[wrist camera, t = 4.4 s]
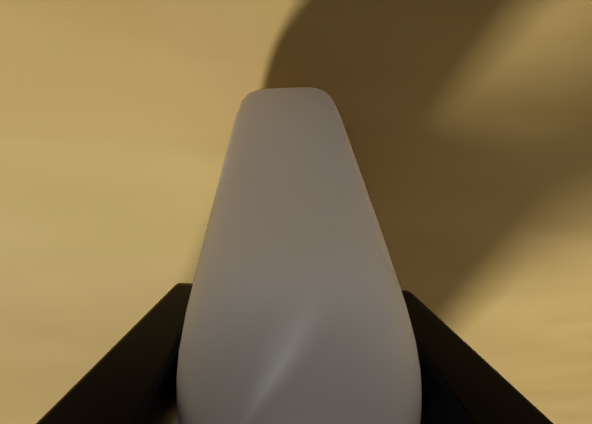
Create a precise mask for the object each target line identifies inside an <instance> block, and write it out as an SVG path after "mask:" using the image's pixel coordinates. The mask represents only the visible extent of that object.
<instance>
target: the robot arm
mask: <svg viewBox="0 0 592 424" xmlns="http://www.w3.org/2000/svg"><path fill="white" fill-rule="evenodd" d="M192 286H193V283H178V284H176V285H175V286H174V287H173V288H172V289H171V290H170V291H169V292H168V293H167V294H166V295H165V296H164V297H163V298H162V299H161V300H160V301H159V302H158V303H157V304H156V305H155V306H154V307H153V308H152V309H151V310H150V311H149V312H148V313H147V314H146V315H145V316H144V317H143V318H142V319H141V320H140V321H139V322H138V323H137V324H136V325H135V326H134V327H133V328H132V329H131V330H130V331H129V332H128V333H127V334H126V335H125V336H124V337H123V338H122V339H121V340H120V341H119V342H118V343H117V344H116V345H115V346H114V347H113V348H112V349H111V350H110V351H109V352H108V353H107V354H106V355H105V356H104V357H103V358H102V359H101V360H100V361H99V362H98V363H97V364H96V365H95V366H94V367H93V368H92V369H91V370H90V371H89V372H88V373H87V374H86V375H85V376H84V377H83V378H82V379H81V380H80V381H79V382H78V383H77V384H76V385H75V386H74V387H73V388H72V389H71V390H70V391H69V392H68V393H67V394H66V395H65V396H64V397H63V398H62V399H61V400H60V401H59V402H58V403H57V404H56V405H55V406H54V407H52V408H51V409H50V410H49V411H48V412H47V413H46V414H45V415H44V416H43V417H42V418H41V419H40V420H39V421H38V422H37V423H36V424H179V423H178V415H177V403H176V377H177V366H178V355H179V348H180V342H181V337H182V331H183V326H184V320H185V315H186V310H187V306H188V302H189V298H190V294H191V290H192ZM401 291H402V294H403V297H404V300H405V303H406V306H407V310H408V314H409V318H410V321H411V325H412V329H413V333H414V337H415V340H416V346H417V352H418V358H419V364H420V372H421V386H422V410H421V423H420V424H553V423H552V422H551V421H550V420H549V419H548V418H547V417H546V416H545V415H544V414H543V413H541V412H540V411H539V410H538V409H537V408H536V407H535V406H534V405H533V404H532V403H531V402H529V401H528V400H527V399H526V398H525V397H524V396H523V395H522V394H521V393H520V392H519V391H518V390H516V389H515V388H514V387H513V386H512V385H511V384H510V383H509V382H508V381H507V380H506V379H504V378H503V377H502V376H501V375H500V374H499V373H498V372H497V371H496V370H495V369H494V368H492V367H491V366H490V365H489V364H488V363H487V362H486V361H485V360H484V359H483V358H482V357H481V356H479V355H478V354H477V353H476V352H475V351H474V350H473V349H472V348H471V347H470V346H469V345H467V344H466V343H465V342H464V341H463V340H462V339H461V338H460V337H459V336H458V335H457V334H456V333H454V332H453V331H452V330H451V329H450V328H449V327H448V326H447V325H446V324H445V323H444V322H442V321H441V320H440V319H439V318H438V317H437V316H436V315H435V314H434V313H433V312H432V311H431V310H429V309H428V308H427V307H426V306H425V305H424V304H423V303H422V302H421V301H420V300H419V299H417V298H416V297H415V296H414V295H413V294H412V293H411V292H409V291H406V290H401Z"/></svg>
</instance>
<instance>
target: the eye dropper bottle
mask: <svg viewBox="0 0 592 424" xmlns="http://www.w3.org/2000/svg"><path fill="white" fill-rule="evenodd" d="M176 403H177V415H178V423H179V424H420V423H421V410H422V386H421V372H420V364H419V358H418V352H417V346H416V340H415V337H414V333H413V329H412V325H411V321H410V318H409V314H408V310H407V306H406V303H405V300H404V297H403V294H402V291H401V288H400V285H399V282H398V279H397V276H396V273H395V270H394V267H393V264H392V261H391V258H390V255H389V252H388V249H387V246H386V243H385V240H384V237H383V234H382V232H381V229H380V226H379V223H378V220H377V217H376V215H375V212H374V209H373V206H372V203H371V200H370V197H369V195H368V192H367V189H366V186H365V183H364V180H363V178H362V175H361V172H360V169H359V166H358V164H357V161H356V158H355V155H354V152H353V150H352V147H351V144H350V141H349V138H348V136H347V133H346V130H345V127H344V125H343V122H342V119H341V117H340V114H339V112H338V109H337V107H336V105H335V103H334V101H333V99H332V98H331V97H330V96H329V95H328V94H327V93H326V92H325V91H324V90H321V89H317V88H314V87H294V88H269V89H259V90H256V91H254V92H251V93H249V94H248V95H247V96H246V98H245V99H244V100H243V101H242V103H241V105H240V108H239V110H238V112H237V115H236V119H235V122H234V125H233V129H232V132H231V136H230V140H229V144H228V148H227V151H226V155H225V159H224V163H223V167H222V171H221V174H220V178H219V182H218V186H217V190H216V194H215V198H214V202H213V206H212V209H211V213H210V217H209V221H208V225H207V229H206V233H205V237H204V241H203V245H202V249H201V253H200V257H199V261H198V265H197V269H196V273H195V277H194V281H193V286H192V290H191V294H190V298H189V302H188V306H187V310H186V315H185V320H184V326H183V331H182V337H181V342H180V348H179V355H178V366H177V377H176Z"/></svg>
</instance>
